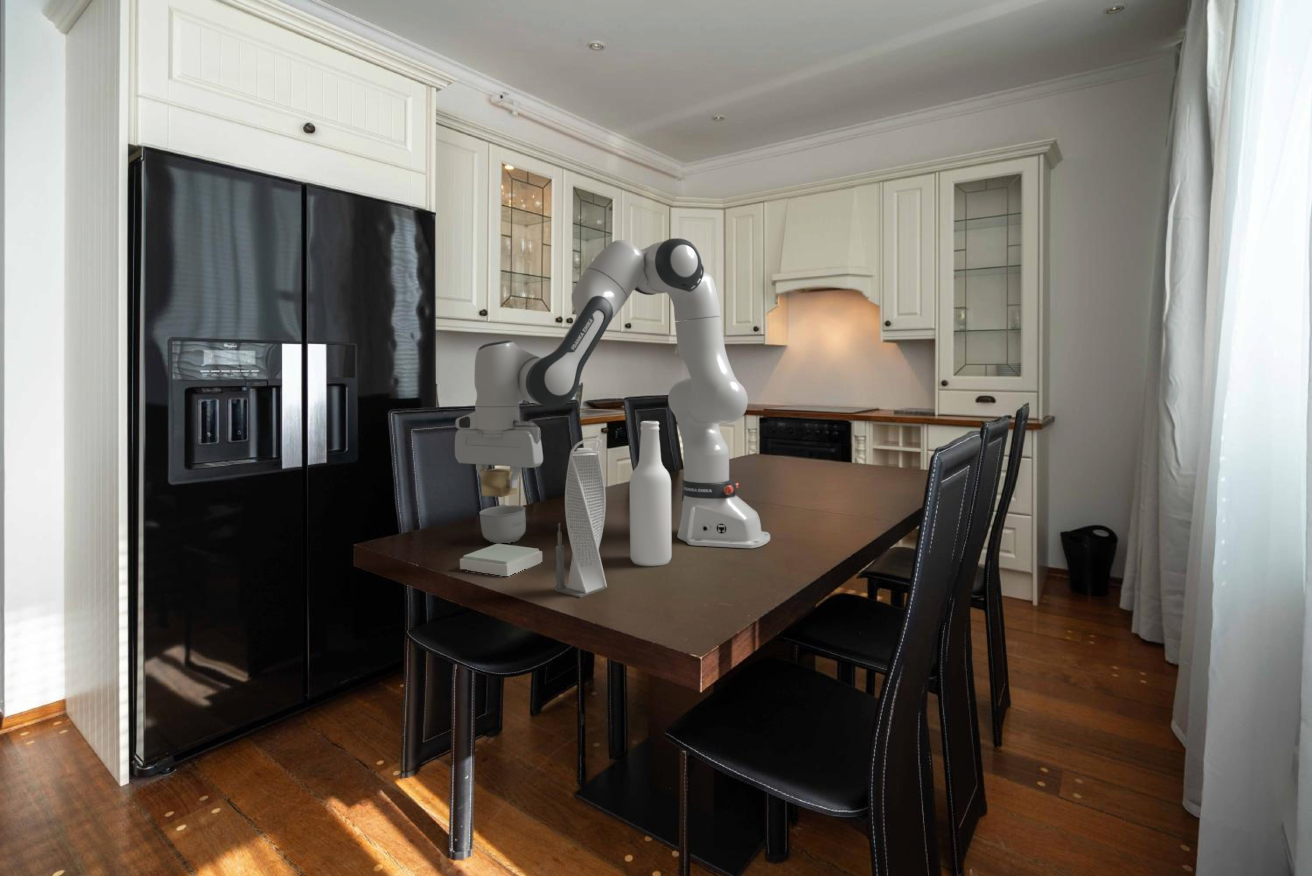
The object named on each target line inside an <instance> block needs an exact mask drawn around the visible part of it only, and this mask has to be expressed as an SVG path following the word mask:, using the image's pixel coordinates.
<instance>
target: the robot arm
mask: <svg viewBox="0 0 1312 876" xmlns="http://www.w3.org/2000/svg"><path fill="white" fill-rule="evenodd" d="M704 268H705V267H704V265H703V264H702V258H701V256H700V253H699V251H698V249H697V248H696V246H695V245H694V244H693V243H692V242H691V241H689V240H687V239H684V238H675V237H674V238H669V239H666V240H662V241H659V242H656V243H653V244H651V245H650V246H647V247H645V248H643V249H639V247H637V246H636V245H635V244H633V243H632V242H630V241H628V240H623V239H617V240H613V241H611V242H610V243H609V244H608V245H607V246H606V247H604V248H603V249H602V250H601V251H600V252H599V253H598V254H597V256H596V257H595V258H594V259H593V260H592V261H591V262H590V264H589V265H588V266H587V268H586V269H585V270H584V272H583V273H582V274H581V275H580V277H579V279H578V281H577V282H576V285H575V286H574V289H573V290H572V293H571V303H572V307H573V308H574V309H573V310H574V311H575V313H576V316H575V318H574V321H573V323H572V324H571V326H570V327H569V329H568V331H567V332H566V334H565V335H564V337H563V338H562V340H561V342H560V343H559V345H558V346H557V347H556V349H555V350H553V351H552V352H551V353H550V354H548V355H545V356H544V357H540V356H539V355H536V354H533V353H531V352H529V351H527V350H525V349H523V348H522V347H520V346H519V345H517V344H516V343H515V342H514V341H512V340H501V341H500V340H499V341H494V342H489V343H485V344H483V345H481V346H480V347H478V349H477V351H476V354H475V360H474V388H475V391H476V400H475V405H474V407H475V408H474V411H472V412H471V413H469V414H465V415H463V416H459V417H457V418H456V419H455V428H456V429H458V430H457V431H456V432H455V436H454V438H455V439H454V457H455V459H456V461H457V462H458V464H469V465H471V464H472V465H476V466H475V468H476V471H477V474H478V476H479V477H480V478H481V471H486V470H488V468H489V466H499V467H509V469H510V472H512V474H511V477H510V479H507V480H506V483H507V484H506V487H507V488H516V489H517V487H518V479H519V477H520V475H521V473H522V468H527V469H528V468H533V469H534V468H537V467H540V466H541V465H542V464H543V462H544V453H543V446H542V439H541V429H540V427H539V425H537V424H536V423H535V421H530V420H528V421H524V420H520V402H521V401H526V402H528V403H533V404H538V405H541V406H545V407H547V408H559V407H562V406H564V405H566V404H568V403H570V401H572V399H573V398H574V397H575V395H576V394H577V391H578V388H579V385H580V380H581V376H582V373H583V369H584V367H585V365H586V364H587V361H588V360H589V358H590V357H591V355H592V353H593V351H594V350H595V348H596V347H597V345H598V344H599V342H600V340H601V339H602V337H603V335H604V334H605V331H606V330H607V328H608V327H609V325H610V324H611V323H612V321H613V320H614V319H615V317H616V316H617V314H618V313H619V312H620V310H621V309H622V307H623V306H624V305H625V304H626V302H627V301H628V299H629V297H630V296H631V294H632V293H633V291H635V292H637V293H639V294H642V295H647V296H653V295H658V294H667V295H668V297H669V298H670V299H671V302H672V305H673V312H674V313H673V314H674V315H673V316H674V325H675V326H674V327H675V333H676V334H675V335H676V344H677V345H676V346H677V352H678V356H679V357H680V359H681V360H682V361H683V363H684V364H685V366H686V368H687V371H688V373H689V374H688V375H689V376H690V377H688V378H685V379H682V380H680V381H678V382H676V383H675V384H674V385H673V386H672V387H671V388H670V390H669V393H668V396H667V401H668V403H667V404H668V406H669V409H670V411H671V412H672V413H673V415H674V416H675V419H676V423H677V426H678V430H679V434H680V440H681V445H682V452H683V453H682V455H683V479H682V480H681V501H682V511H681V518H680V523H679V528H678V531H677V532H678V533H677V535H676V536H677V538H678V539H679V540H681V541H683V542H685V543H687V544H688V545H689V546H699V547H704V546H705V547H717V548H718V547H719V548H733V549H734V548H738V549H755V548H759V547H763V546H764V545H767V544H768V543H769V542H770V541H771V534H770V533H769V532H767V531H762V526H761V520H760V517H759V514H758V511H756V510H755V509H754V508H752V507H751V506H750V505H749V504H747V503H746V502H745V501H744V500H742V498H740V497H739V496H738V495H737V492H738V490H737V489H738V488H739V482H737V483H735V482H733V481H732V480H731V479H730V449H729V446H728V444H727V442H726V441H725V439H724V438H723V436H722V433H721V428H720V425H725V424H729V423H733V422H736V421H738V420H739V419H741V418H743V416H744V415H745V413H746V411H747V407H748V403H749V397H748V393H747V390H746V389H745V387H744V386H743V385H742V384H741V383H740V382H739V380H738V379H737V378H736V376H735V373H734V371H733V369H732V366H731V363H730V361H729V357H728V355H727V351H726V346H725V340H724V338H725V337H724V330H723V322H722V312H721V311H722V310H721V305H720V299H719V294H718V291H717V288H716V283H715V280H714V278H713V276H711V275H710V274H708V273H707V272H705V269H704Z"/></svg>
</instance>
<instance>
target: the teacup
mask: <svg viewBox="0 0 1312 876" xmlns="http://www.w3.org/2000/svg"><path fill="white" fill-rule="evenodd" d="M479 518H480V519H479V520H480V528H481V532H482V536H483V538H484V539H485V540H487V541H489V542H490V543H491V542H493V543H508V544H512V543H511V542H513V543H516V542H518V541H519V540H520V539H521V537H523V535H525V533H526V529H527V528H526V527H527V525H526V523H527V522H526V521H527V519H526V518H527V517H526V507H525V506H523V505H516V504H512V505H511V504H509V505H507V504H502V505H498V506H492V507H487V508H484V509H482V510H480V511H479ZM493 543H492V544H493Z"/></svg>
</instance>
